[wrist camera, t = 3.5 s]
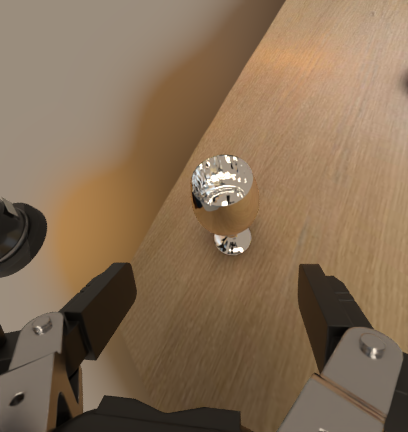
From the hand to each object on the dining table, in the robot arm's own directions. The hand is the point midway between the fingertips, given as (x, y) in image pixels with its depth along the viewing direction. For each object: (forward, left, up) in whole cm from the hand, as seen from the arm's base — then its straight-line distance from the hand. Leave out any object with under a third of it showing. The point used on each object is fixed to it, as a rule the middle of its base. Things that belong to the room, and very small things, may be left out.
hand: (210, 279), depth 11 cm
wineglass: (+4, +7, -15) cm, 17 cm away
